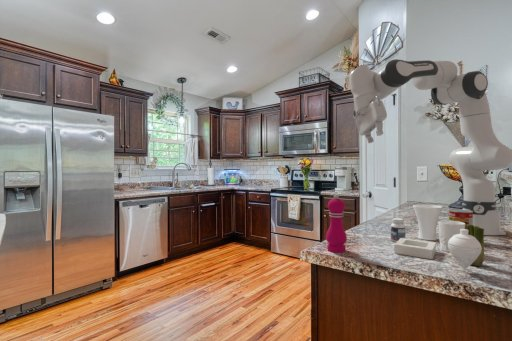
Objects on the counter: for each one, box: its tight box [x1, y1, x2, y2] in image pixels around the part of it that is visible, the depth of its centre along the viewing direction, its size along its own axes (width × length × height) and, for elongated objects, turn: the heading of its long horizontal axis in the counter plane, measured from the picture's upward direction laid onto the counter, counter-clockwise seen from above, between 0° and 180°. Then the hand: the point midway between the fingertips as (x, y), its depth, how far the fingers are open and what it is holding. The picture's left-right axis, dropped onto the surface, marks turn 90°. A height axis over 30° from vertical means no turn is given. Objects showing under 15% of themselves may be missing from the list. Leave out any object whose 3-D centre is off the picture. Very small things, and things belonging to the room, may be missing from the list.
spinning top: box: [448, 229, 482, 273], centre depth 80 cm, size 8×8×12 cm
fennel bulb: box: [466, 225, 485, 267], centre depth 86 cm, size 6×5×12 cm
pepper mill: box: [325, 193, 348, 254], centre depth 102 cm, size 7×7×20 cm
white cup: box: [437, 219, 465, 253], centre depth 101 cm, size 8×8×10 cm
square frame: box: [393, 237, 437, 260], centre depth 99 cm, size 11×11×3 cm
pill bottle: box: [390, 217, 406, 243], centre depth 114 cm, size 5×5×9 cm
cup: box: [412, 203, 443, 241], centre depth 118 cm, size 10×10×14 cm
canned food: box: [448, 208, 473, 229], centre depth 115 cm, size 8×8×12 cm
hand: (375, 139), depth 109 cm, fingers open, 8 cm apart
